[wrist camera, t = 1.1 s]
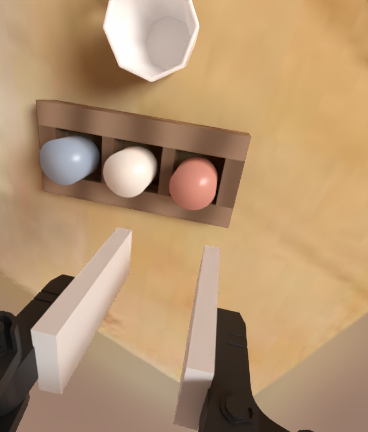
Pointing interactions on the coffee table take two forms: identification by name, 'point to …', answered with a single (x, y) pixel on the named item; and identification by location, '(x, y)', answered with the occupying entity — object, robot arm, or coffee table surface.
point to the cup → (151, 35)
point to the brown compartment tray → (154, 135)
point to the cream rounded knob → (130, 170)
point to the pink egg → (194, 183)
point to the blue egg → (69, 159)
